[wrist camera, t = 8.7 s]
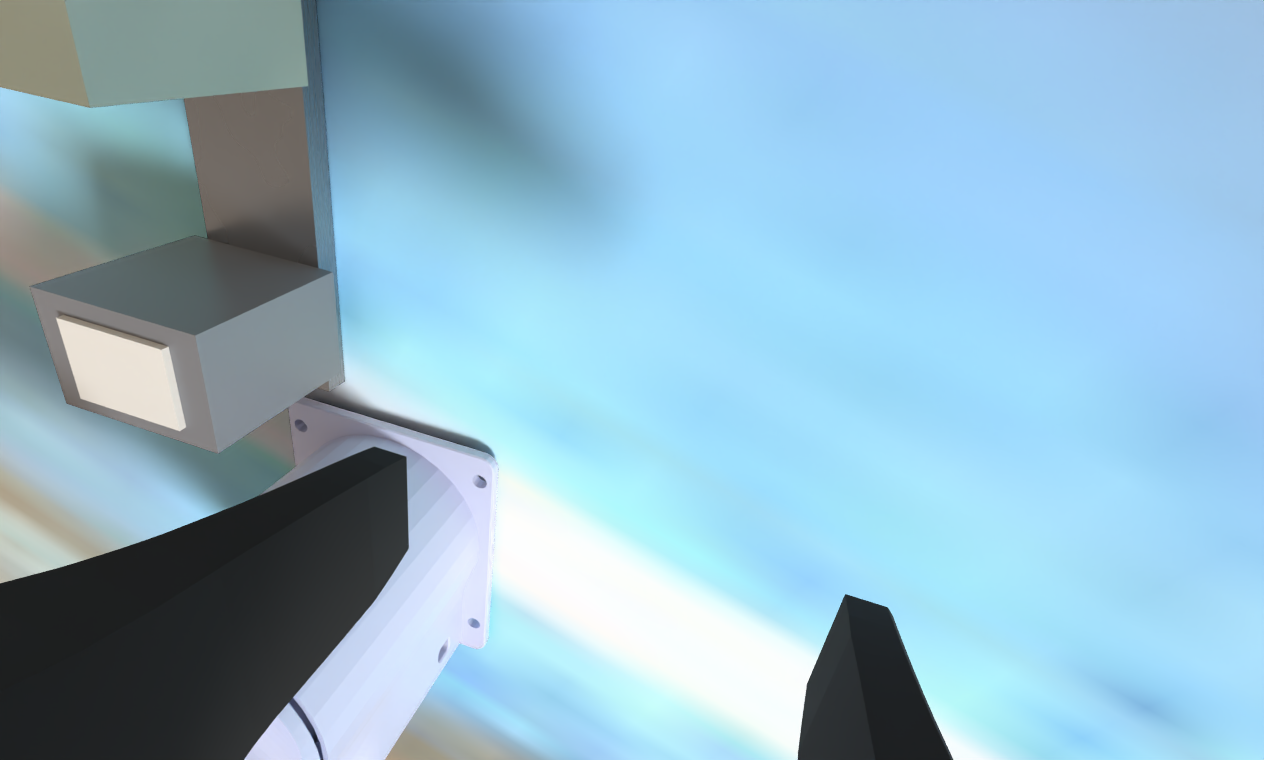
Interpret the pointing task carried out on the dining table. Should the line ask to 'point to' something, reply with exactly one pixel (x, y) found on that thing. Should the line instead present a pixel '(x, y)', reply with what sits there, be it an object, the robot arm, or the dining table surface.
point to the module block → (149, 48)
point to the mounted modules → (191, 338)
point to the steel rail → (270, 169)
